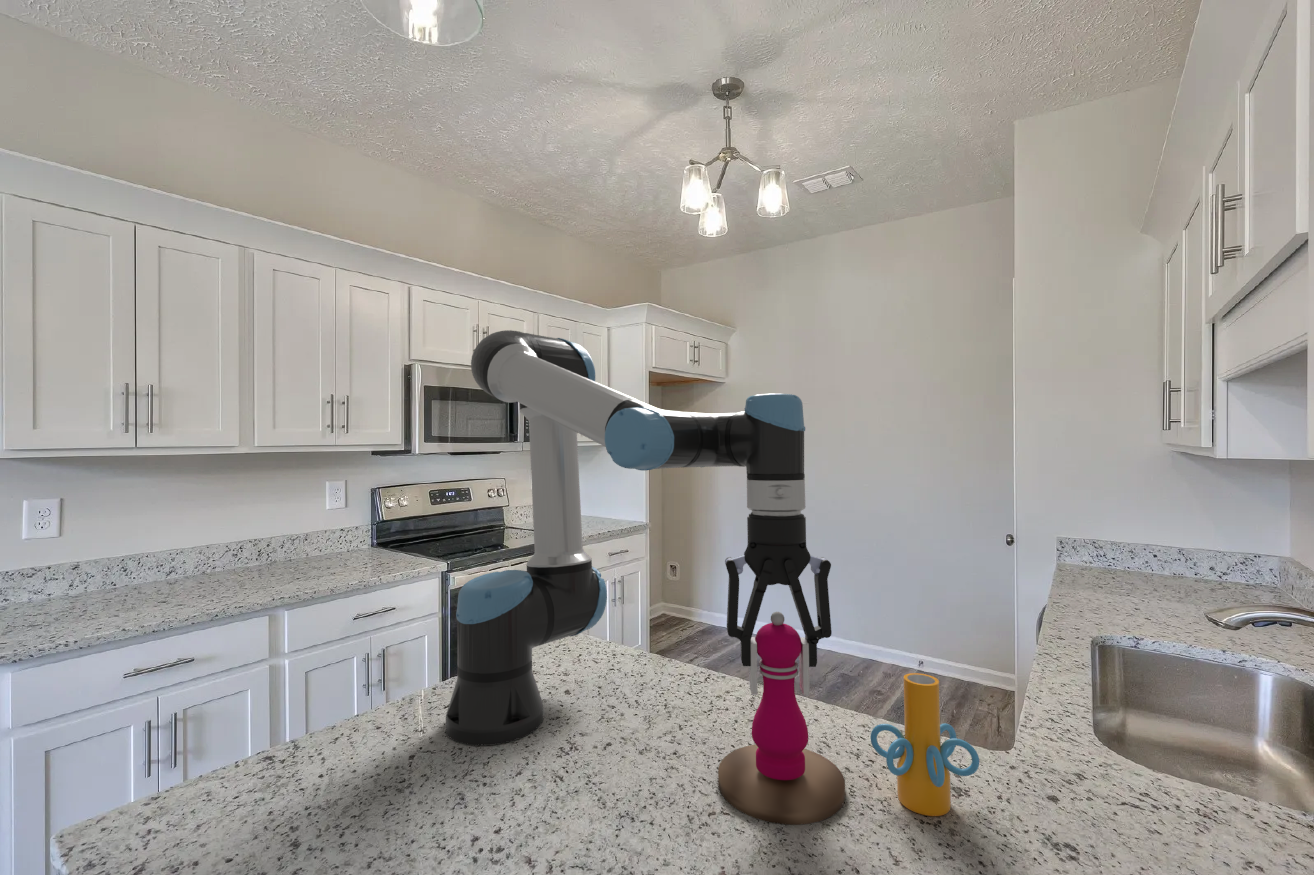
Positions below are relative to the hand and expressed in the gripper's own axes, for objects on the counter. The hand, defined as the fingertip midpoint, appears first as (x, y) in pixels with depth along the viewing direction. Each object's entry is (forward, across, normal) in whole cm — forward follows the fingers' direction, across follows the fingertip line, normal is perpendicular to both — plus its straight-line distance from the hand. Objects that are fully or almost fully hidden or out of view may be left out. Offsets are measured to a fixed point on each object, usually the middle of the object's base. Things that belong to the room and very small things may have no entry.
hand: (778, 690), depth 76 cm
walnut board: (+12, 0, 0) cm, 12 cm away
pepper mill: (+10, 0, 0) cm, 10 cm away
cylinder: (+12, +17, -3) cm, 21 cm away
